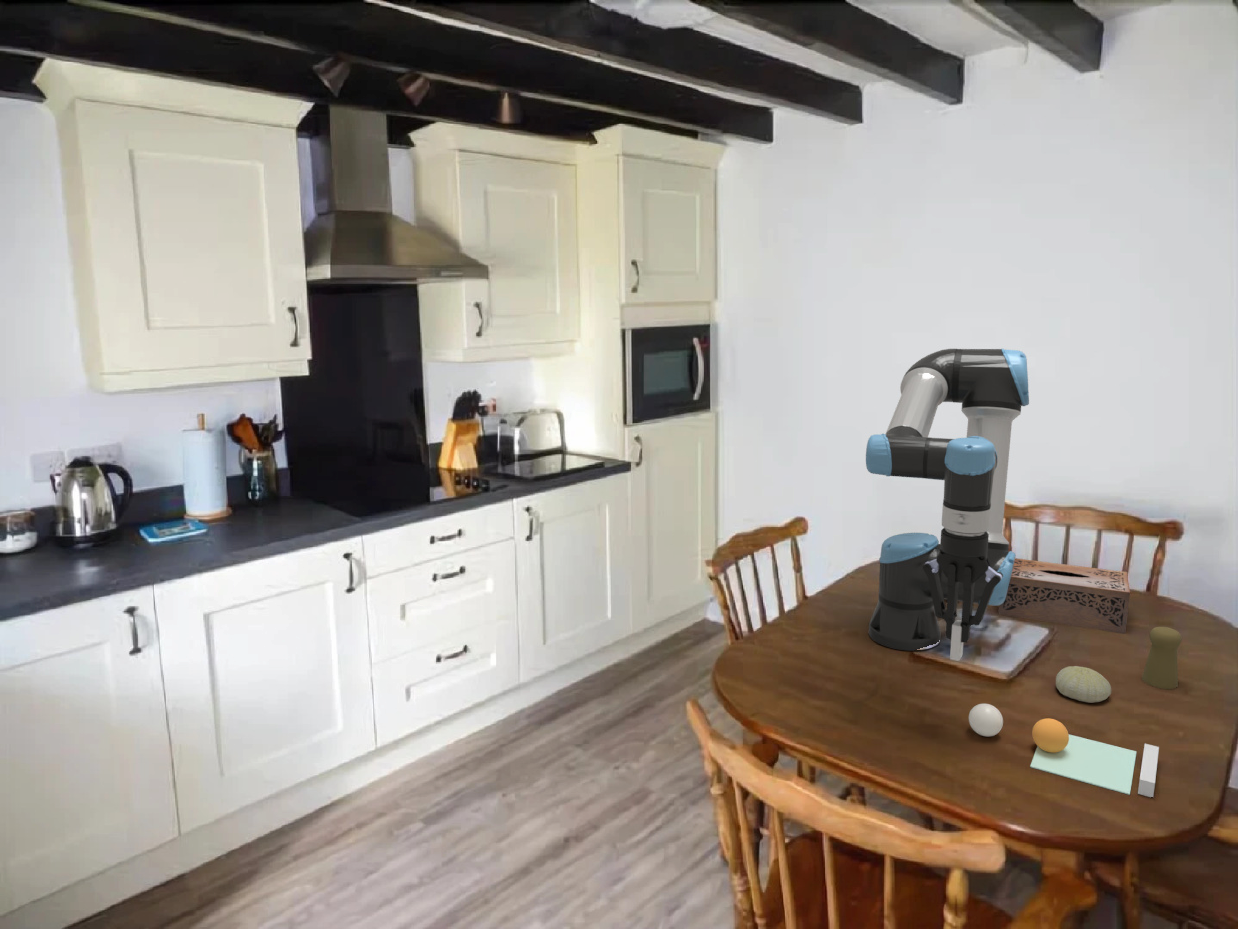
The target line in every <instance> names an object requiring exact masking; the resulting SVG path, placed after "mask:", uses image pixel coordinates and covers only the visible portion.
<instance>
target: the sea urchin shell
mask: <svg viewBox="0 0 1238 929" xmlns="http://www.w3.org/2000/svg"><path fill="white" fill-rule="evenodd" d="M1055 687H1056V689H1057V690H1058V691H1059V693H1060V694H1062V695H1063V696H1064V697H1068V698H1070V699H1071V700H1072V699H1073V700H1076V701H1079V702H1083V703H1089V704H1090V703H1091V704H1092V703H1100V702H1103V701H1106V699H1108V697H1109V696H1111V694H1112V687H1111V684H1110V682H1109V680H1108V679H1106V678H1105V676H1103V675H1102V674H1101V673H1099V672H1098V671H1096V670H1094V669H1092V668H1089V667H1085V666H1078V665H1074V666H1070V665H1069V666H1066V667H1064V668H1062V669H1060V671H1059V672H1058V673H1057V674H1056V676H1055Z"/></svg>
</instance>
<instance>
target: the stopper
mask: <svg viewBox="0 0 1238 929" xmlns="http://www.w3.org/2000/svg"><path fill="white" fill-rule="evenodd" d="M1143 747H1144V748H1143V754H1142V761H1141V767H1140V768H1141V769H1140V776H1139V783H1138V790H1137V794H1138V795H1142V796H1145V797H1147V798H1151V797H1153V798H1154V795H1155V794H1154V793H1155V786H1156V776H1157V768H1158V759H1159V750H1160V746H1157V745H1152V744H1148V743H1144V745H1143Z"/></svg>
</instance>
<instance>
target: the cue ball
mask: <svg viewBox="0 0 1238 929" xmlns="http://www.w3.org/2000/svg"><path fill="white" fill-rule="evenodd" d="M968 723H969V725H970V727H971V729H972V730H973V731H974V732H975V733H976V734H978V735H979V736H983V737H994V736H995V735H998V733H999V732H1001V730H1002V728H1003V727H1004V726H1003V724H1004V718H1003V715H1002V713H1001V712H1000V710H999V709H998V708H996V706H994V705H992V704H989V703H979V704H977V705H975V706H973V707H972V708H971V709H970V711H969V714H968Z"/></svg>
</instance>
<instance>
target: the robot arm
mask: <svg viewBox="0 0 1238 929" xmlns="http://www.w3.org/2000/svg"><path fill="white" fill-rule="evenodd" d="M1027 360H1028V359H1027V355H1026V354H1025V353H1024V352H1023V351H1021V350H1016V349H1015V350H1014V349H1006V348H1005V349H1004V348H946V349H941V350H937V351H934V352H932V353H930V354H928V355H926V356H924V357H922V358H920V359H919V360H918V361H916V362H915V363H914V364H912V365H911V366H910V368H908V369H907V371H905V374H904V376H903V377H902V380H901V382H900V390H899V391H900V398H899V400H898V402H897V404H896V407H895V410H894V412H893V415H892V417H891V420H890V422H889V425H888V427H887V430H886V432H885V433H880V434H872V435H870V436H869V438H868V440H867V443H866V450H865V466H866V469H867V472H868V473H870V474H872V475H880V476H886V477H899V478H900V477H901V478H902V477H903V478H914V479H925V480H927V479H928V480H937V481H944V485H943V486H944V487H943V499H942V500H943V502H942V511H941V526H942V527H943V528H942V529H941V531H940V541H939V540H938V537H937V536H936V535H935V534H929V533H925V532H906V533H905V532H904V533H899V534H895V535H891V536H889V537H888V538H886V539H884V541H883V542H882V543H881V549H880V557H879V560H878V561H879V577H878V578H879V583H878V597H877V598H878V601H877V604H876V605H875V609H874V610H873V613H872V615H871V619H870V620H869V624H868V635H869V637H870V638H871V640H873V642H875V643H877V644H879V645H881V646H883V647H887V648H890V649H895V650H899V651H909V652H910V651H912V652H915V651H914V650H917V649H920V648H923V647H927V646H929V645H933V644H936V643H937V642H939V640H940V641H941V637H942V636H941V634H942V633H941V632H942V631H941V628H940V624H939V620H938V618H939V619H942V620H944V621H945V634H944V635H945V639H946V640H950V653H949V654H950V655H949V659H950V660H951V661H957V662H960V660H961V659H962V656H963V654H964V643H965V644H967V643H968V642H969V641H970V638H971V628H972V626H979V625H980V624H981V623H982V621H983V619H984V617H985V614H986V612H987V609H988V606H996V607H997V606H999V605H1001V604H1002V603H1003V602H1004V601H1005V598H1006V595H1007V591H1008V586H1009V582H1010V578H1011V574H1012V570H1013V565H1014V561H1015V558H1016V556H1017V554H1016V552H1013V551H1012V550H1009V548H1010V542H1009V541H1008V539H1006V537H1005V536H1004V535H1003V528H1004V527H1003V526H1004V516H1005V503H1006V494H1007V493H1006V492H1007V482H1008V470H1009V459H1010V458H1009V457H1010V445H1011V435H1012V424H1013V421H1014V420H1015V419H1017V418H1018V417H1019V416H1020V415H1021V413H1022V407H1026V406H1028V405H1030V395H1029V377H1028V375H1029V374H1028V361H1027ZM942 403H957V404H958V403H959V404H961V412H962V414H963V415H964V416H965V417H966V418H967V427H966V429H967V430H966V437H957V438H943V437H942V438H940V437H929V435H930V432H931V428H932V426H933V422H934V419H935V416H936V412H937V410H938V406H940V405H941V404H942ZM939 542H940V543H939ZM945 600H946V603H945ZM958 602H961V603H962V605H961V607H962V608H961V609H962V610H961V619H956V617H958V614H957V613H958V612H957V611H958ZM973 604H977V608H976V610H975V612H974V613H975V614H974V615H973V611H974V609H973V608H974V605H973Z"/></svg>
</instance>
